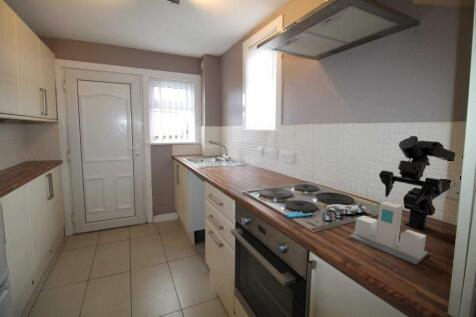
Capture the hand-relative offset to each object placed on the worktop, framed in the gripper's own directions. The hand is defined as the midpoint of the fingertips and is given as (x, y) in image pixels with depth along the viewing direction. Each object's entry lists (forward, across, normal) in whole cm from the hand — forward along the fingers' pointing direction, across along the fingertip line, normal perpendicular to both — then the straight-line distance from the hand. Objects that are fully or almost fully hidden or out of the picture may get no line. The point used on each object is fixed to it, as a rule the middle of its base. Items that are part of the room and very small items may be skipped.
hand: (400, 199), depth 86 cm
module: (+16, +1, +1) cm, 16 cm away
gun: (+4, -24, +16) cm, 29 cm away
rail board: (+17, +1, +2) cm, 17 cm away
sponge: (+20, -33, 0) cm, 39 cm away
